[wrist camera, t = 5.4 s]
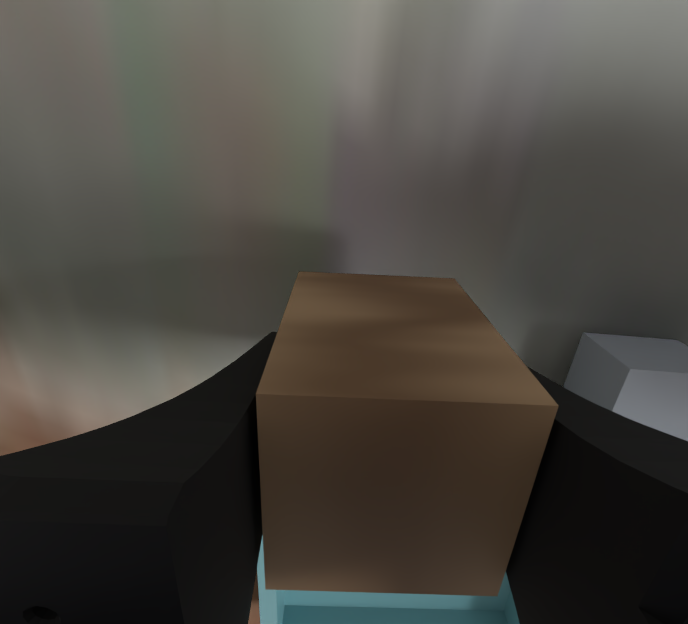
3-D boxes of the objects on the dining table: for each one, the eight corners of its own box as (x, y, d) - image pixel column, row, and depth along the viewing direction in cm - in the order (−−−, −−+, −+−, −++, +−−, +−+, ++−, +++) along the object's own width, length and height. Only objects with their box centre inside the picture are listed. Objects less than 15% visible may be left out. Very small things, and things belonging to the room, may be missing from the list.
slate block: (674, 338, 16) (742, 377, 14) (637, 416, 18) (691, 465, 15) (580, 330, 16) (630, 369, 13) (552, 410, 18) (591, 458, 15)
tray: (577, 415, 18) (621, 465, 15) (510, 608, 23) (532, 671, 20) (265, 403, 17) (250, 452, 15) (272, 602, 23) (262, 665, 20)
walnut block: (454, 278, 11) (558, 405, 6) (432, 406, 13) (497, 596, 8) (298, 271, 11) (256, 393, 6) (298, 400, 13) (265, 589, 8)
